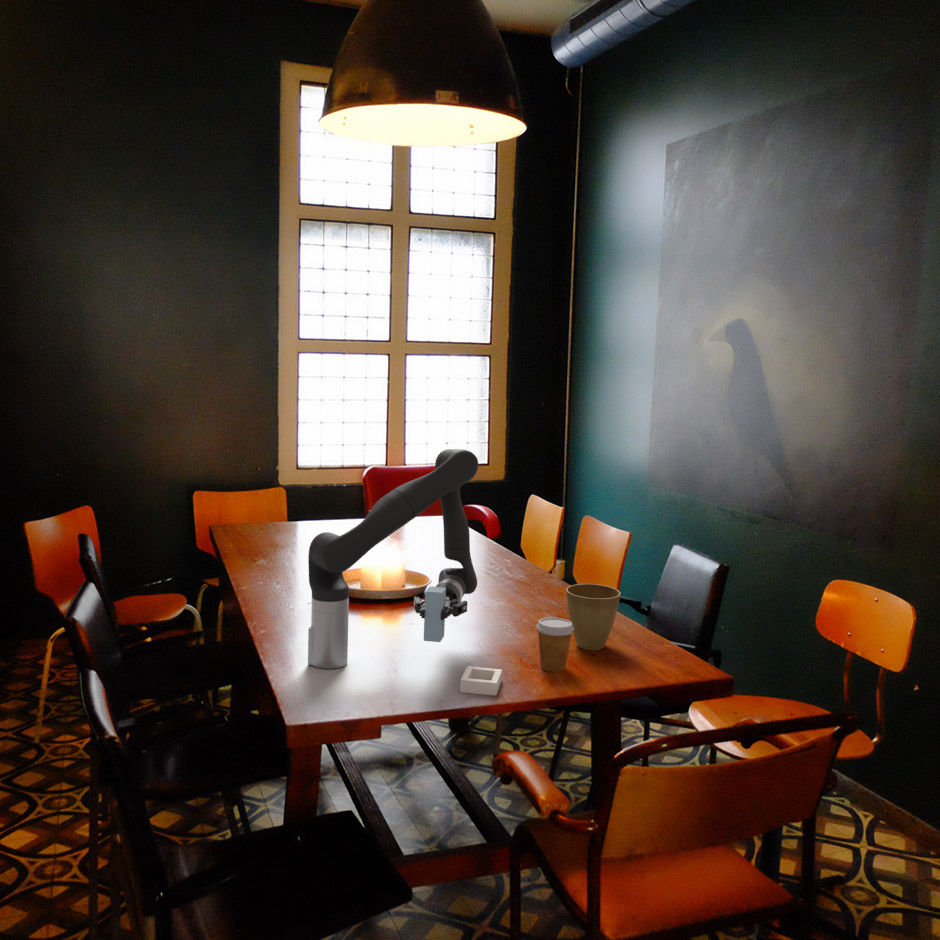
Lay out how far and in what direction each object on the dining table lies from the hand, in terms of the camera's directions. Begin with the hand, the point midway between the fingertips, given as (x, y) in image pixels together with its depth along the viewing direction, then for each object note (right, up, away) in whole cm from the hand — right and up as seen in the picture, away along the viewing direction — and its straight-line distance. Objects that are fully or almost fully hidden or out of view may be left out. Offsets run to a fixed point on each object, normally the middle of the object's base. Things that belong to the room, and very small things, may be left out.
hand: (432, 615), depth 206 cm
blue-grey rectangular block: (0, -6, +4) cm, 7 cm away
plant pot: (+42, -15, +37) cm, 58 cm away
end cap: (+11, -18, +4) cm, 22 cm away
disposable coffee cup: (+30, -17, +19) cm, 40 cm away
